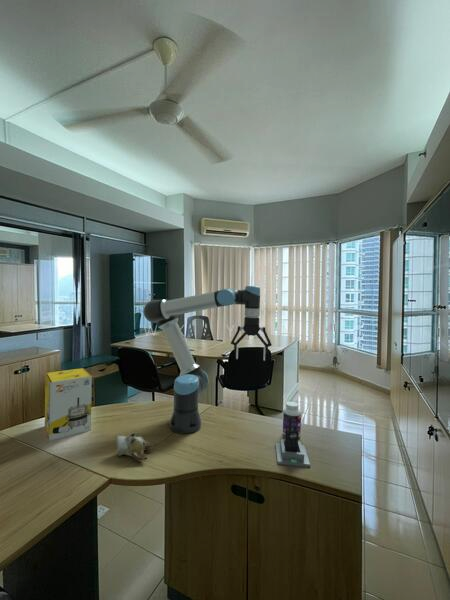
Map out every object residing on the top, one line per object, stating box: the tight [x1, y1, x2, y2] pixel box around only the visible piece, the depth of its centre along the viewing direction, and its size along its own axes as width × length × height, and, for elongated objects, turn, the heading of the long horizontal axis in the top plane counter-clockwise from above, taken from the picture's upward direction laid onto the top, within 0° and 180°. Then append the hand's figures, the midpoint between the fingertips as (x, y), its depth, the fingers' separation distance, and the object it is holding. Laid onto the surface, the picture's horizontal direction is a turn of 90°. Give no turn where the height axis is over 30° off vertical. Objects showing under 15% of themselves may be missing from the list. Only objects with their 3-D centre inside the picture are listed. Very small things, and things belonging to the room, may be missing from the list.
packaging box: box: [44, 367, 93, 442], centre depth 131 cm, size 16×16×25 cm
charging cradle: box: [274, 439, 311, 468], centre depth 115 cm, size 12×14×4 cm
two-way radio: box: [284, 417, 300, 452], centre depth 115 cm, size 6×4×15 cm
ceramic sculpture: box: [115, 433, 157, 461], centre depth 112 cm, size 11×9×15 cm
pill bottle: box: [282, 401, 302, 437], centre depth 131 cm, size 8×8×14 cm
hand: (250, 359), depth 143 cm, fingers open, 13 cm apart
